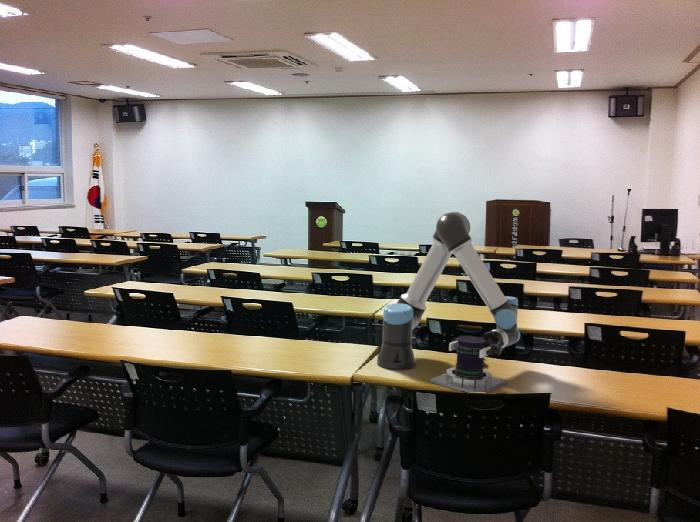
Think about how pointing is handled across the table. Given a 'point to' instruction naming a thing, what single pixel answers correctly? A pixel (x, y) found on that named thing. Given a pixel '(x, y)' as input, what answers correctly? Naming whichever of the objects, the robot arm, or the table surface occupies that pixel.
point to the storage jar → (469, 357)
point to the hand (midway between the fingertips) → (464, 350)
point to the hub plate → (468, 389)
